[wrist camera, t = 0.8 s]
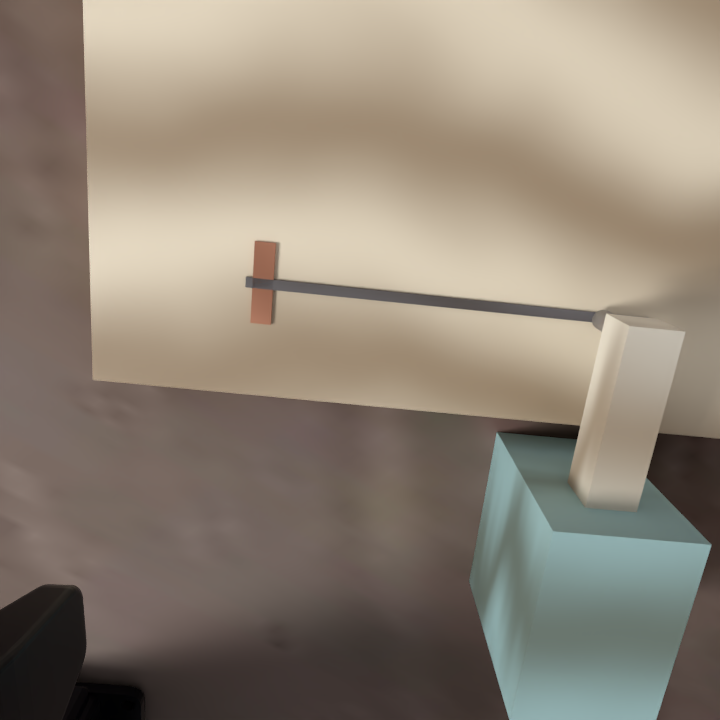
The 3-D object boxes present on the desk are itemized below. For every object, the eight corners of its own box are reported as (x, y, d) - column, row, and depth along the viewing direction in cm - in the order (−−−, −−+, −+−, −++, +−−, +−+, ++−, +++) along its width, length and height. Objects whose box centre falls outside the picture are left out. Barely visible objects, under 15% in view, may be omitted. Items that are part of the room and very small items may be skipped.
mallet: (575, 589, 22) (652, 731, 17) (468, 580, 22) (509, 721, 16) (646, 299, 19) (772, 351, 13) (523, 286, 19) (598, 334, 13)
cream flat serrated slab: (705, 424, 20) (729, 440, 19) (107, 368, 20) (91, 381, 18) (846, -51, 16) (887, -70, 15) (98, -149, 15) (76, -177, 14)
